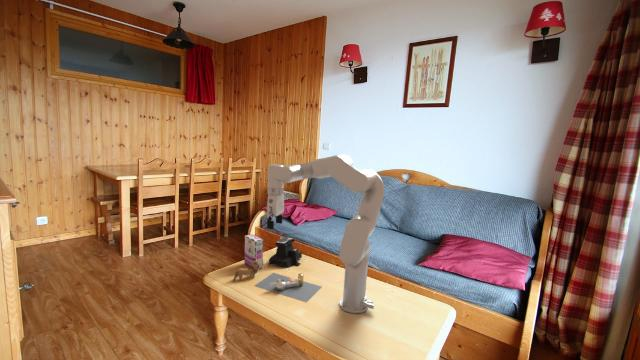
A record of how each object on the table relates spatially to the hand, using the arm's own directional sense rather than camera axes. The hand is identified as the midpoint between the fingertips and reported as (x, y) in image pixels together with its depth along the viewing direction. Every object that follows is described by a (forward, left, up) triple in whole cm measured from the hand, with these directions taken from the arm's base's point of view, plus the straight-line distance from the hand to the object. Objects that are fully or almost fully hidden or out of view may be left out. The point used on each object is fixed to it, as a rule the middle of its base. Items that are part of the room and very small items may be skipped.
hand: (274, 225), depth 151 cm
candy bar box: (+19, -9, -29) cm, 36 cm away
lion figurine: (+13, +5, -29) cm, 32 cm away
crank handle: (-10, +3, -27) cm, 29 cm away
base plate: (-10, +2, -29) cm, 30 cm away
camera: (+6, -24, -29) cm, 38 cm away
